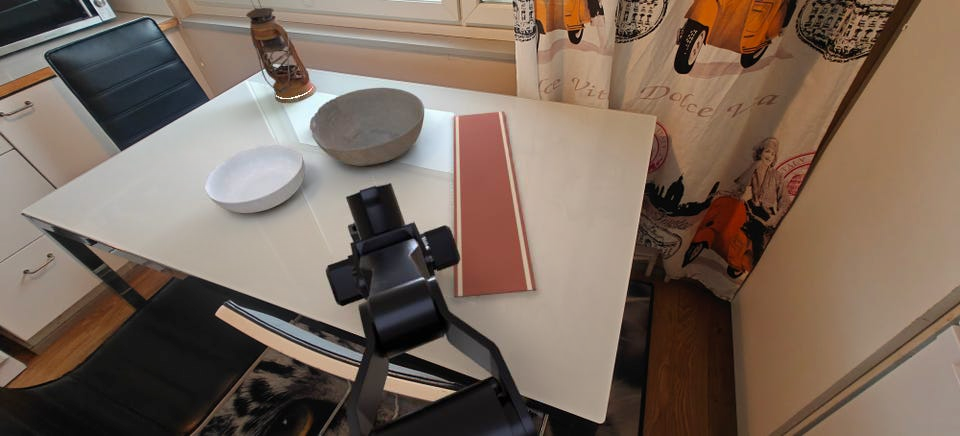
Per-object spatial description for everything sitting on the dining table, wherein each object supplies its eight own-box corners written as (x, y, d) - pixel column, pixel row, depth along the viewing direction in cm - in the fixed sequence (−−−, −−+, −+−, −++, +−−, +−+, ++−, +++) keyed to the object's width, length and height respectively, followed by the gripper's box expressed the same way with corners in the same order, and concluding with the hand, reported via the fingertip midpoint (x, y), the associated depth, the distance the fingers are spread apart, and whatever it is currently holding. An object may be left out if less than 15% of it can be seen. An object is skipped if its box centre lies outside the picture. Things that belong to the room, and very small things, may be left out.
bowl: (322, 132, 112) (308, 99, 105) (418, 110, 117) (411, 77, 110) (325, 192, 93) (309, 157, 86) (441, 163, 98) (434, 127, 91)
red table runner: (535, 290, 69) (535, 289, 69) (454, 297, 70) (454, 296, 70) (503, 112, 112) (503, 111, 112) (453, 117, 113) (453, 116, 113)
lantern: (328, 86, 133) (291, -16, 112) (303, 105, 125) (258, 0, 104) (288, 81, 138) (246, -17, 118) (261, 99, 130) (210, -2, 109)
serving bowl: (220, 238, 85) (202, 215, 80) (221, 183, 99) (205, 161, 94) (319, 204, 90) (308, 180, 86) (306, 157, 104) (296, 134, 100)
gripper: (443, 186, 55) (432, 198, 70) (302, 231, 51) (323, 234, 66) (469, 264, 55) (453, 259, 70) (331, 316, 51) (345, 299, 66)
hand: (395, 261), depth 68 cm, fingers closed on can, 7 cm apart
